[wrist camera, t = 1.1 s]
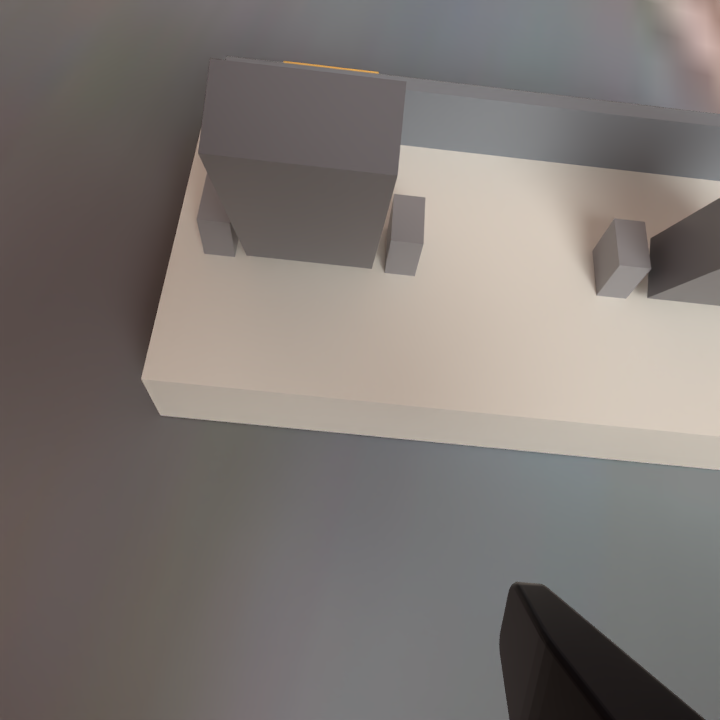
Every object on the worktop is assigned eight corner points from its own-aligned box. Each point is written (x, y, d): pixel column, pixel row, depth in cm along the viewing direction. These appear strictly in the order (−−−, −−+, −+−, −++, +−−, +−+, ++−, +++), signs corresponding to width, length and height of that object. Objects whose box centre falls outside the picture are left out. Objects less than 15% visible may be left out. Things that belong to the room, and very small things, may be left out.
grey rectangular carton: (370, 272, 22) (397, 175, 13) (248, 259, 22) (197, 153, 13) (376, 213, 22) (406, 81, 14) (255, 199, 22) (209, 58, 14)
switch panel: (797, 477, 23) (931, 422, 18) (160, 415, 22) (120, 340, 18) (742, 221, 28) (836, 123, 23) (215, 163, 27) (196, 48, 22)
